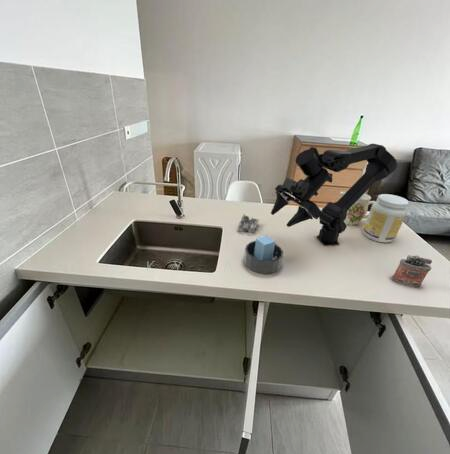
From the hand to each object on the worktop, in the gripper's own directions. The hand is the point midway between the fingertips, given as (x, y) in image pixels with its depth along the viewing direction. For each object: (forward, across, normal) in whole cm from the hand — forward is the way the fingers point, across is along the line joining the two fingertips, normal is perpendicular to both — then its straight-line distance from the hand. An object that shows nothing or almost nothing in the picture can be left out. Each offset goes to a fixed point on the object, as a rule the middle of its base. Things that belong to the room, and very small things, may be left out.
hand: (279, 219), depth 81 cm
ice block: (+14, +4, +3) cm, 15 cm away
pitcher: (-23, -9, +46) cm, 52 cm away
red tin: (-11, +28, +33) cm, 45 cm away
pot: (+15, +4, +4) cm, 16 cm away
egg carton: (+10, -20, +10) cm, 24 cm away
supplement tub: (-24, +4, +46) cm, 52 cm away
